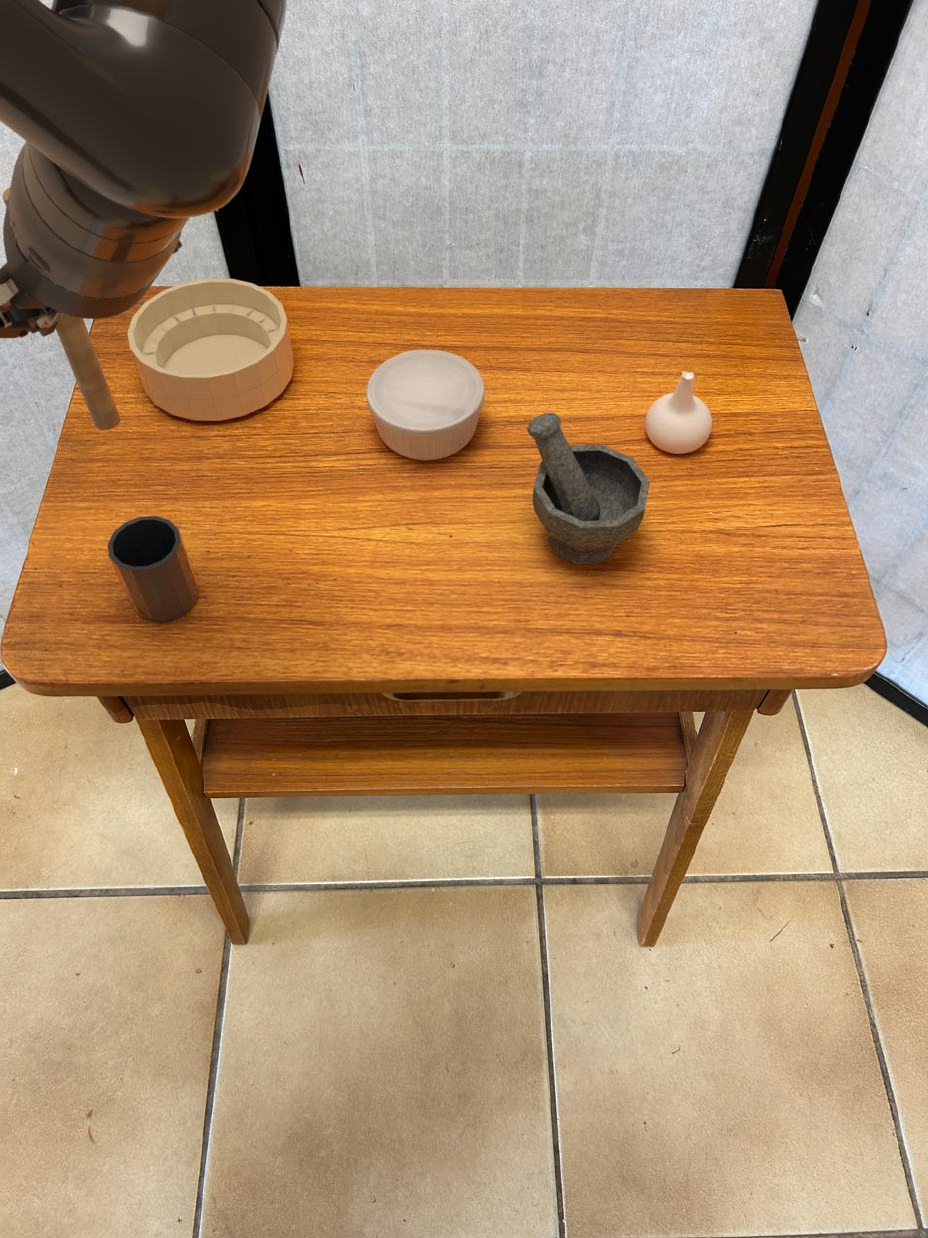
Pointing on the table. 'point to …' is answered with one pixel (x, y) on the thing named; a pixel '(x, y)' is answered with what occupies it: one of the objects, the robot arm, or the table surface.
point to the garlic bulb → (679, 419)
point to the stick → (86, 368)
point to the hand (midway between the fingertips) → (54, 312)
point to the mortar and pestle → (585, 494)
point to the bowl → (212, 349)
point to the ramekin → (425, 403)
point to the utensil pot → (154, 568)
